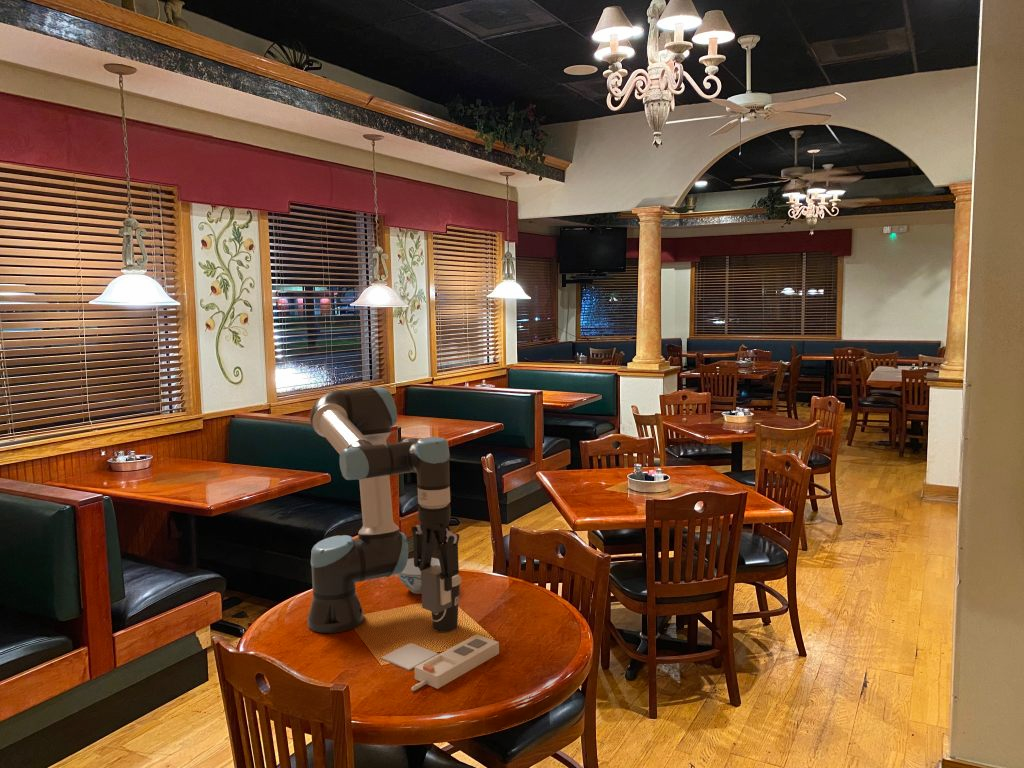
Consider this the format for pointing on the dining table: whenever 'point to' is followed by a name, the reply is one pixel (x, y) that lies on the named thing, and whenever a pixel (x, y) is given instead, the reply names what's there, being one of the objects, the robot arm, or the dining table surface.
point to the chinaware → (414, 575)
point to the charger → (432, 590)
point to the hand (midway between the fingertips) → (436, 599)
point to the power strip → (455, 661)
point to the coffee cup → (448, 610)
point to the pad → (409, 656)
